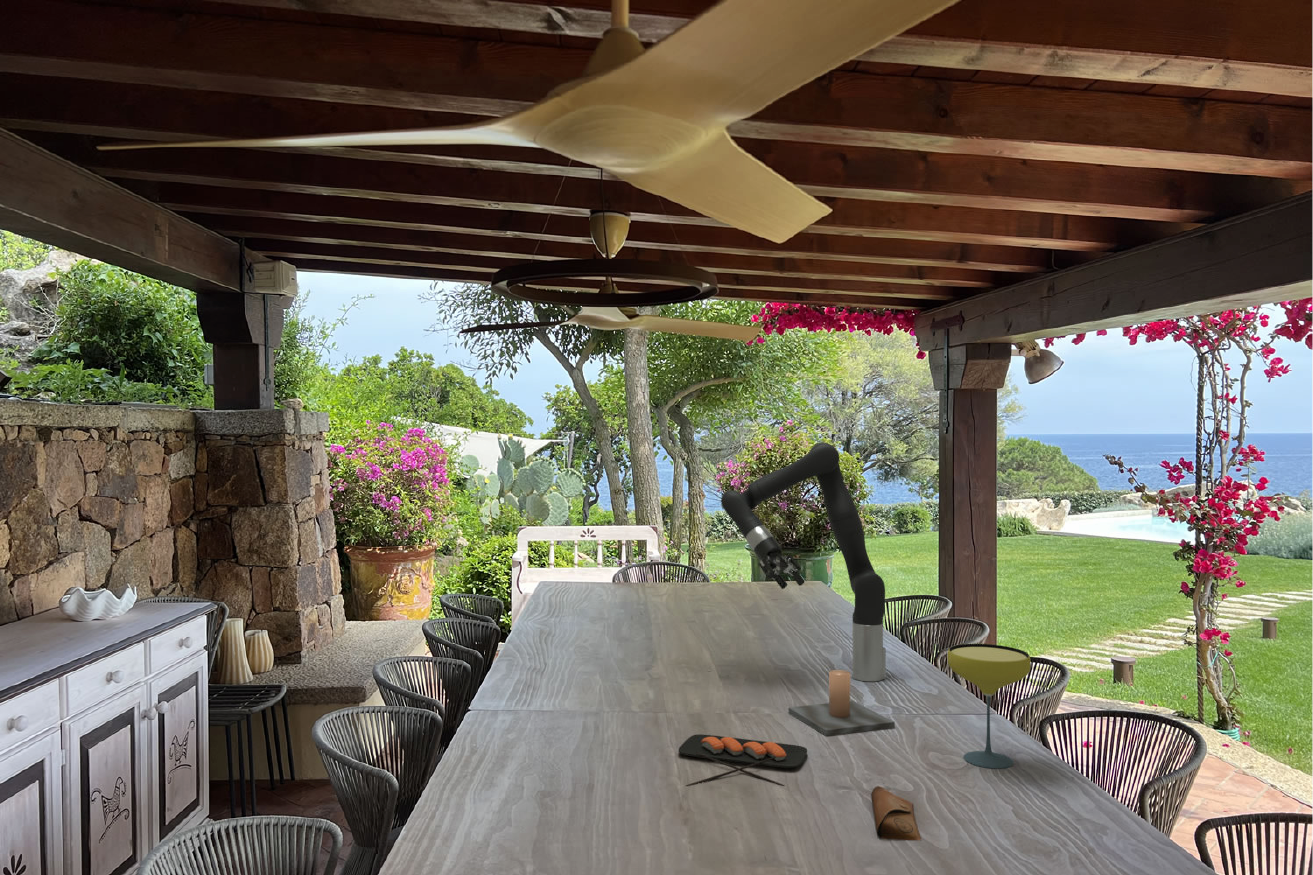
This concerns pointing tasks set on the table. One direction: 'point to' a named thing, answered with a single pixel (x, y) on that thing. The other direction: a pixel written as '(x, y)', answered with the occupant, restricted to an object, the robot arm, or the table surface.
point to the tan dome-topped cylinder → (839, 693)
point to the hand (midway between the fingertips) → (793, 585)
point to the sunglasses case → (893, 816)
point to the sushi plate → (743, 753)
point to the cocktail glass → (989, 684)
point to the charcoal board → (841, 719)
